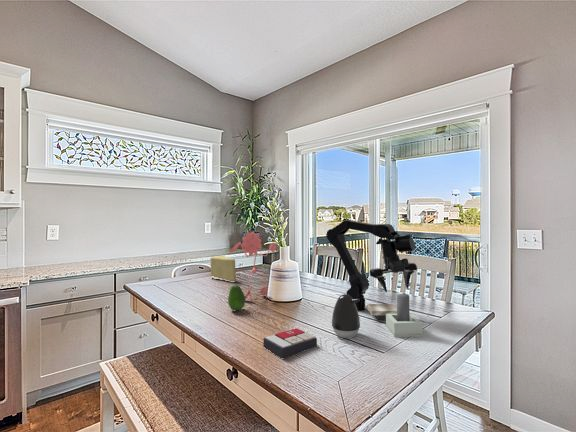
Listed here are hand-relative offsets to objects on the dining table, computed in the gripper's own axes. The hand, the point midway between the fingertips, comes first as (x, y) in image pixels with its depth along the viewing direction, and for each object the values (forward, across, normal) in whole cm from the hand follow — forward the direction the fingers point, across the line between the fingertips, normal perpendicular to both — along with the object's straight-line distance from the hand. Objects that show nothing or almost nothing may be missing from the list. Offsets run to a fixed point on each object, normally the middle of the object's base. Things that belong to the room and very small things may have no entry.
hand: (396, 290), depth 135 cm
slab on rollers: (+10, -6, +1) cm, 12 cm away
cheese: (-9, -83, +77) cm, 114 cm away
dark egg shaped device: (+10, -27, -16) cm, 33 cm away
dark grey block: (+12, -5, -14) cm, 19 cm away
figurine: (-1, -64, +36) cm, 73 cm away
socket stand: (+12, -5, -14) cm, 19 cm away
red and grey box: (+8, -48, -23) cm, 54 cm away
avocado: (0, -70, +16) cm, 72 cm away
